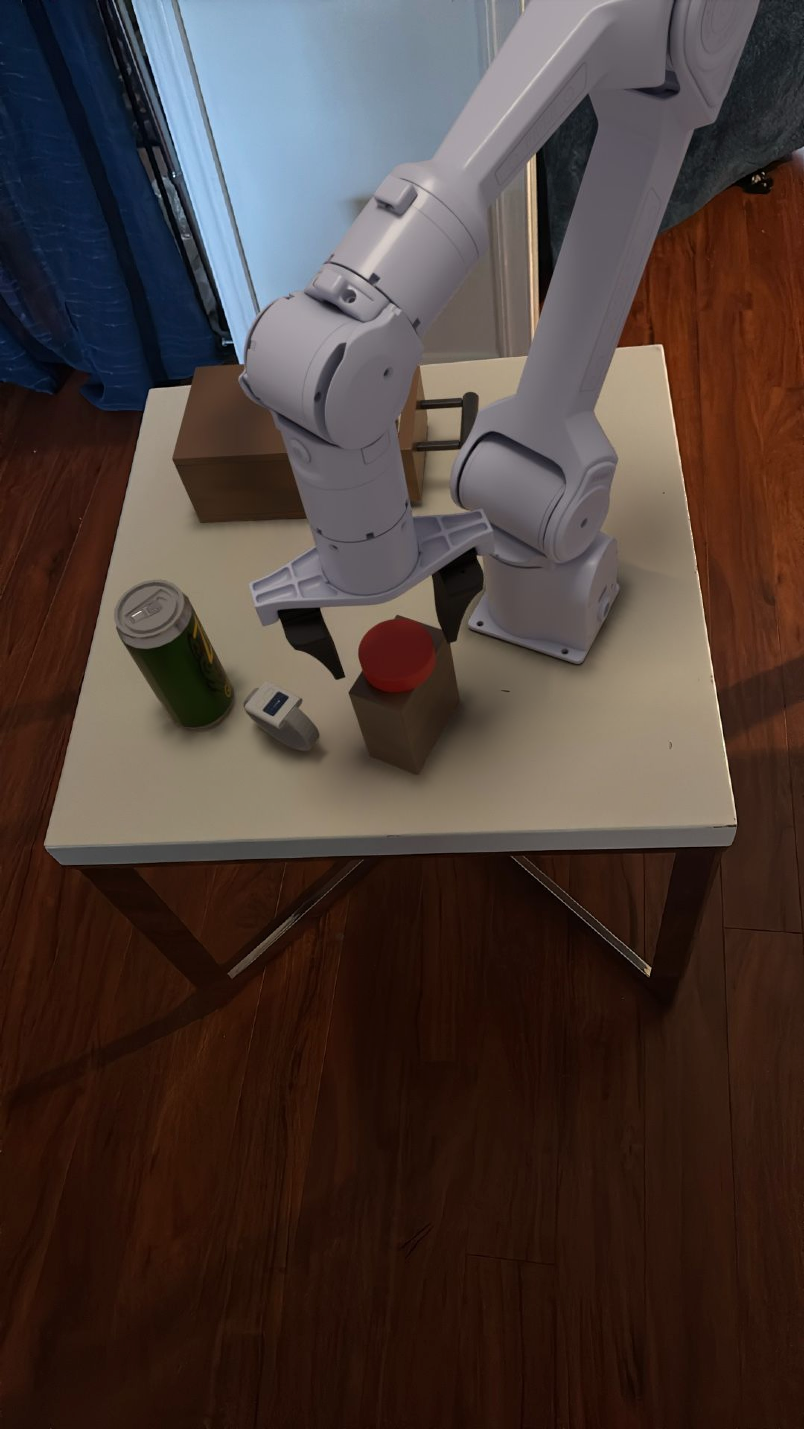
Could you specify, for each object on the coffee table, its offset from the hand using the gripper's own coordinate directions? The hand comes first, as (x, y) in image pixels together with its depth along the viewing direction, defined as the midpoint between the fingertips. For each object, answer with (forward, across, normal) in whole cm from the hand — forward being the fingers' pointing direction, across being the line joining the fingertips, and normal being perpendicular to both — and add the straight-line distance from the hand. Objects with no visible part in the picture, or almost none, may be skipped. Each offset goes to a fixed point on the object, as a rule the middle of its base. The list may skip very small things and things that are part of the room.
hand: (392, 649), depth 68 cm
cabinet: (+10, +3, -30) cm, 32 cm away
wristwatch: (+10, +9, -3) cm, 14 cm away
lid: (+2, 0, 0) cm, 2 cm away
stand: (+10, 0, 0) cm, 10 cm away
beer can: (+10, +15, -8) cm, 20 cm away
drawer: (+9, -6, -27) cm, 29 cm away
